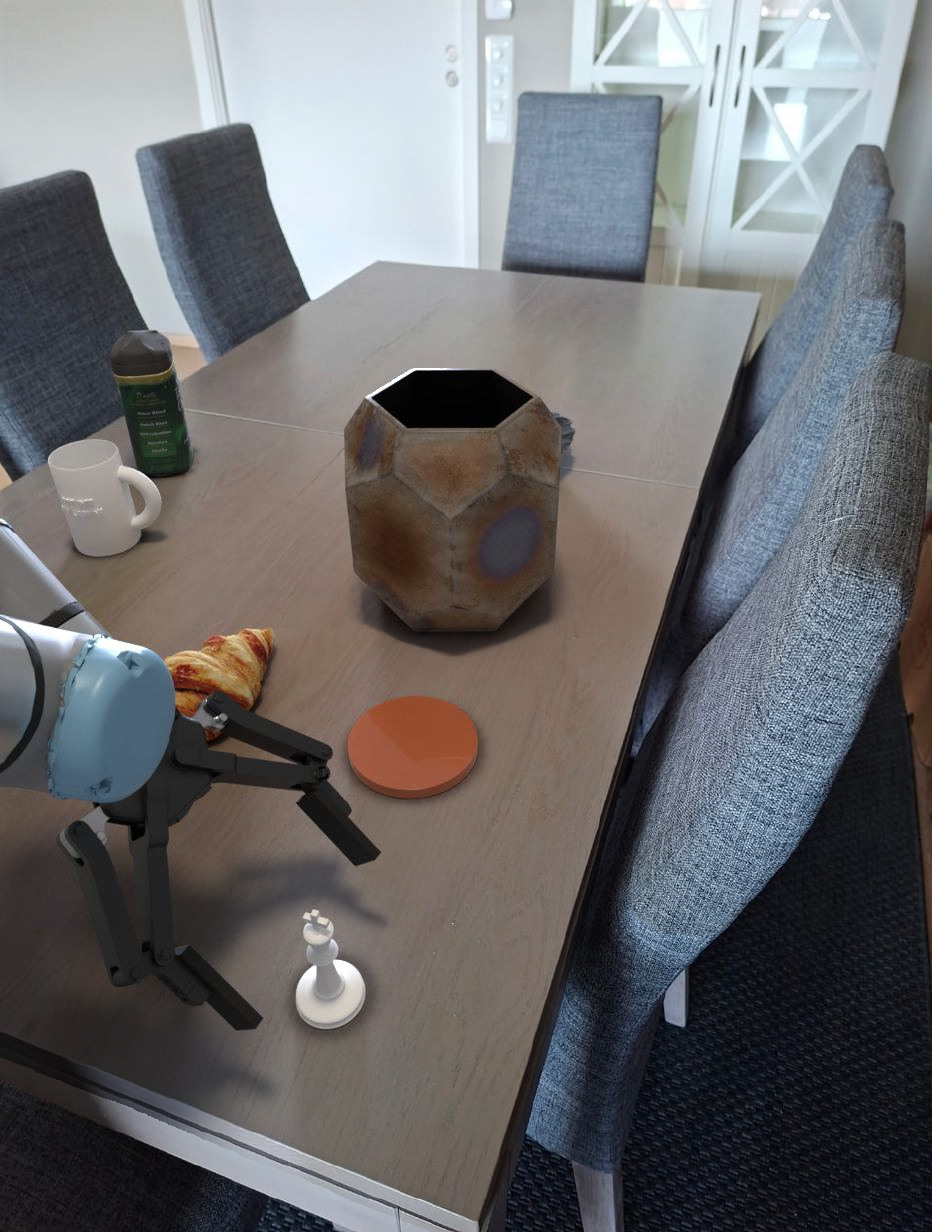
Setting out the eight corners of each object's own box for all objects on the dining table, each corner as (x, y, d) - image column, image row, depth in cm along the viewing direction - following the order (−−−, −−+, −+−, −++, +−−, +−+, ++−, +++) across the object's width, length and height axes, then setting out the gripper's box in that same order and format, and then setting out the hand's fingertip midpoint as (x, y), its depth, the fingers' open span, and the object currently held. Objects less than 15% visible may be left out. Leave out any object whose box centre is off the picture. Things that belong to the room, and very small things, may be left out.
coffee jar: (193, 476, 124) (164, 347, 113) (135, 481, 123) (100, 352, 112) (197, 445, 131) (171, 322, 120) (143, 450, 130) (111, 326, 119)
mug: (160, 559, 107) (137, 471, 100) (64, 558, 107) (34, 470, 100) (180, 523, 114) (159, 439, 106) (89, 522, 114) (63, 438, 107)
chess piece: (315, 955, 65) (297, 872, 59) (376, 974, 63) (365, 891, 57) (283, 1017, 61) (261, 934, 55) (348, 1038, 60) (333, 957, 54)
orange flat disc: (342, 800, 76) (341, 790, 76) (354, 705, 86) (353, 696, 85) (479, 798, 76) (479, 788, 76) (476, 703, 86) (476, 694, 85)
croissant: (255, 662, 96) (216, 602, 94) (319, 649, 91) (280, 585, 88) (121, 795, 81) (69, 728, 78) (189, 789, 75) (136, 716, 72)
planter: (348, 659, 92) (324, 454, 77) (370, 535, 111) (354, 352, 96) (559, 659, 91) (574, 453, 77) (544, 535, 111) (554, 351, 96)
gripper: (196, 615, 66) (380, 814, 70) (-106, 860, 48) (161, 1110, 52) (240, 575, 61) (436, 793, 64) (-80, 834, 43) (214, 1113, 47)
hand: (314, 935), depth 58 cm, fingers open, 13 cm apart
